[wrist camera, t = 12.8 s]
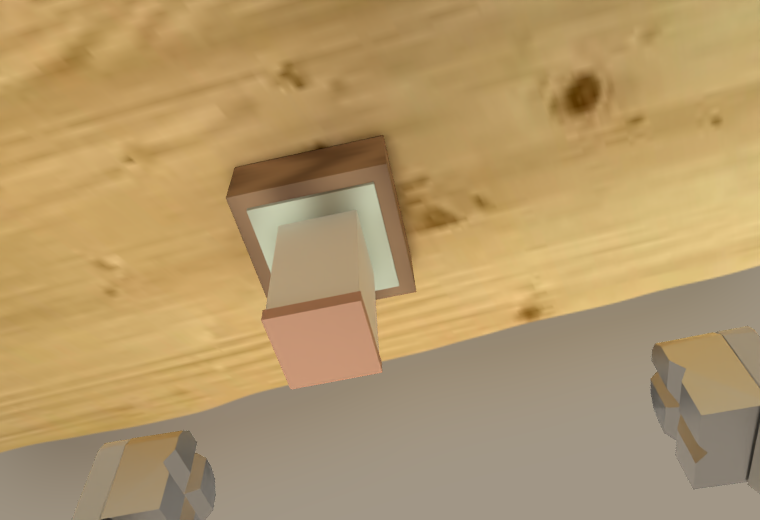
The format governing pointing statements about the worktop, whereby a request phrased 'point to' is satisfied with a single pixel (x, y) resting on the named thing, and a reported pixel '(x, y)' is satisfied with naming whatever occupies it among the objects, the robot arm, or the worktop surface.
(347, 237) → the two-tone lidded box
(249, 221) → the base
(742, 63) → the worktop surface
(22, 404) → the worktop surface
